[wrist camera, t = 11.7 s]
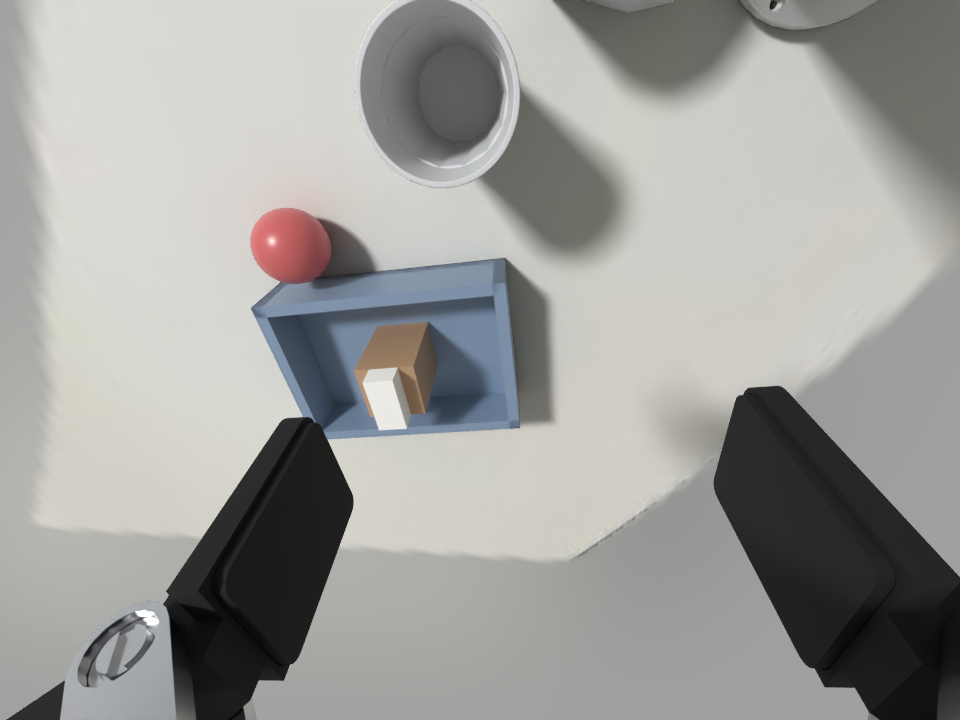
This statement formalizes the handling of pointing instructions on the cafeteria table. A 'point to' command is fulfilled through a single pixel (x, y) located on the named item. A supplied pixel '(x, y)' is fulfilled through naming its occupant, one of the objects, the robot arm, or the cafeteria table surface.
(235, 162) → the cafeteria table surface
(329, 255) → the red glossy sphere
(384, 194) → the cafeteria table surface
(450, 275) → the tub
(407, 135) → the cup
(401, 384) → the brown and white block
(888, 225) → the cafeteria table surface
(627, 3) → the toilet tissue
